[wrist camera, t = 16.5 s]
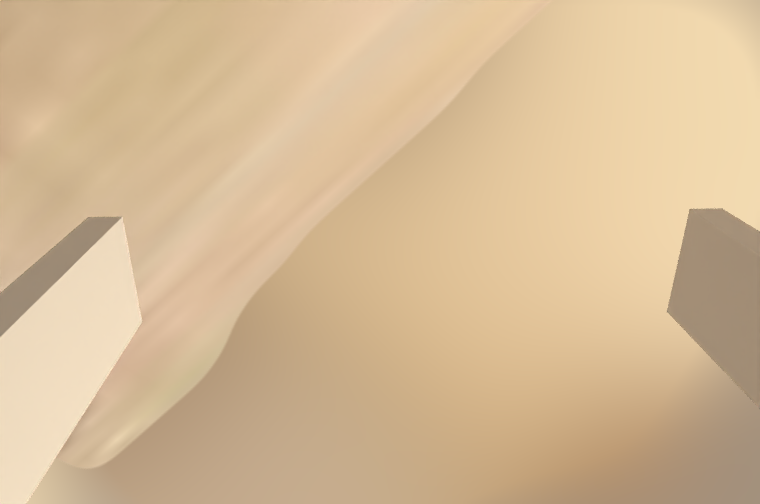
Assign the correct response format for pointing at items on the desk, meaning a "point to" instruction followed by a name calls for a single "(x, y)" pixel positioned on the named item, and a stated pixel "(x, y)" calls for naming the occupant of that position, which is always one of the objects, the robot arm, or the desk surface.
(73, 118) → the desk surface
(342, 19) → the desk surface
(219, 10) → the desk surface
